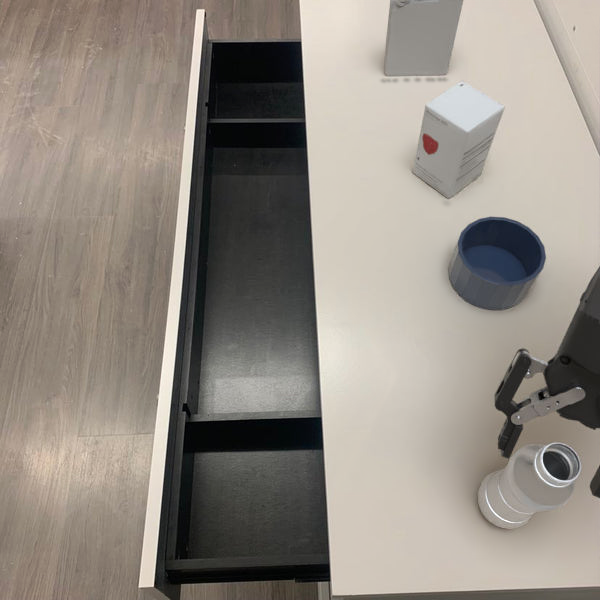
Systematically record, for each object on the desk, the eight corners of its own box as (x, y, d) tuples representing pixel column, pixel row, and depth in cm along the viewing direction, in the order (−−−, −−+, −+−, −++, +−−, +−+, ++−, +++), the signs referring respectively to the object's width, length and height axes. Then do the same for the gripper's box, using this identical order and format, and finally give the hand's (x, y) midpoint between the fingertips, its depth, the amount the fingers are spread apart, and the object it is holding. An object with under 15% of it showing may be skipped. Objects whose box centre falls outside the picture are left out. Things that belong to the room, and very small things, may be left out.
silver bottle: (534, 492, 66) (606, 447, 49) (516, 543, 63) (586, 514, 46) (484, 466, 68) (537, 413, 51) (465, 514, 65) (514, 476, 48)
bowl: (547, 287, 82) (564, 260, 76) (483, 323, 79) (496, 299, 73) (493, 233, 88) (505, 205, 82) (432, 265, 85) (440, 238, 79)
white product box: (410, 172, 95) (423, 103, 83) (444, 148, 98) (461, 77, 85) (448, 200, 92) (468, 132, 79) (482, 175, 94) (507, 105, 82)
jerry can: (372, 77, 110) (383, -54, 89) (371, 62, 113) (382, -69, 91) (447, 76, 109) (476, -57, 88) (444, 61, 112) (472, -72, 90)
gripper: (545, 299, 45) (474, 460, 49) (733, 363, 41) (637, 530, 46) (537, 285, 52) (476, 427, 56) (697, 339, 48) (618, 485, 52)
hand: (548, 473), depth 51 cm, fingers open, 8 cm apart
